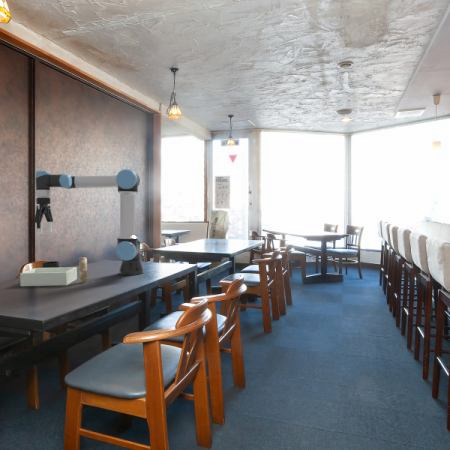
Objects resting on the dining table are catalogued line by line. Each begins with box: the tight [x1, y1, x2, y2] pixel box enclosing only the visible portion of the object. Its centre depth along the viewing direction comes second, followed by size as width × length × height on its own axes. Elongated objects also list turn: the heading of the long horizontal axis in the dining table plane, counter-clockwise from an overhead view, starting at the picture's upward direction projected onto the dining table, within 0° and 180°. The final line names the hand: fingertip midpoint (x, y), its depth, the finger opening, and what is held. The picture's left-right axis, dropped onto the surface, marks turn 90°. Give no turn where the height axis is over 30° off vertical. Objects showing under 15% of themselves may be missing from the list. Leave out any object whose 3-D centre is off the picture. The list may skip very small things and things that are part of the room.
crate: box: [19, 266, 78, 287], centre depth 209 cm, size 24×18×7 cm
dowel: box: [78, 256, 88, 284], centre depth 209 cm, size 4×4×14 cm
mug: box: [41, 260, 61, 268], centre depth 226 cm, size 9×12×9 cm
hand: (44, 233), depth 219 cm, fingers open, 13 cm apart
